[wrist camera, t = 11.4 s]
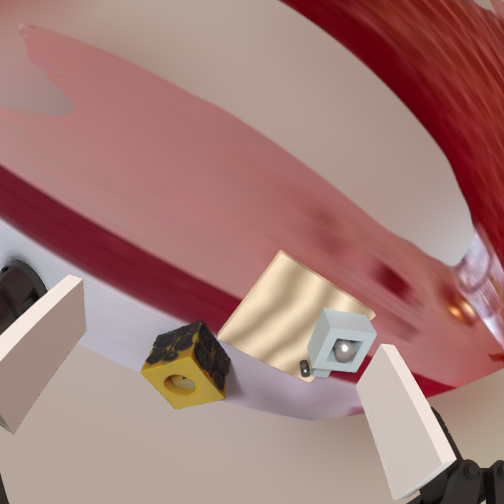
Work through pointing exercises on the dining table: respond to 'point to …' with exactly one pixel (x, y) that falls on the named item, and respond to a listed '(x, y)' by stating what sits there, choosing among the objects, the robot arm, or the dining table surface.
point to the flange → (340, 327)
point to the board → (285, 314)
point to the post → (344, 350)
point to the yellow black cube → (188, 366)
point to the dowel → (304, 368)
